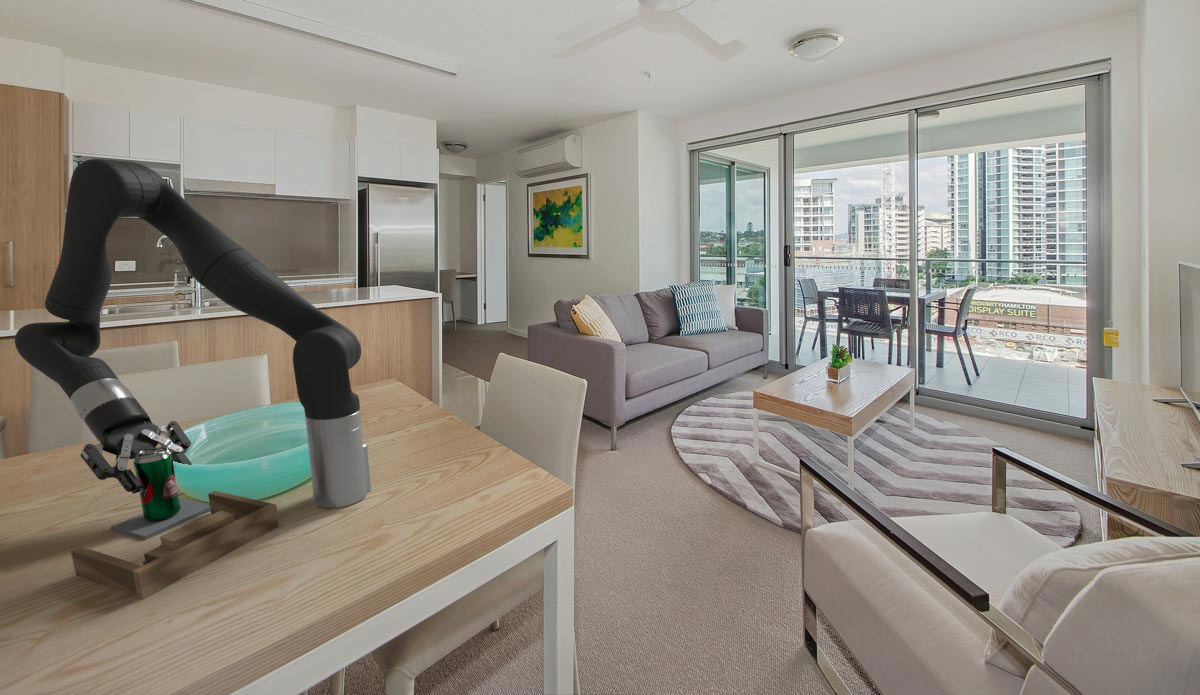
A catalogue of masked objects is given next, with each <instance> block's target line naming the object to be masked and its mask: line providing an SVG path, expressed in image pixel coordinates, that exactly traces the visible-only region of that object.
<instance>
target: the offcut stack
mask: <svg viewBox="0 0 1200 695" xmlns="http://www.w3.org/2000/svg"><path fill="white" fill-rule="evenodd" d="M234 521H236V520H235V516H234V514H231V513H228V512H225V511H222V510H221V511H219V512H216V513H214V514H210V515H207V516H205V517H203V518H200V519H198V520H196V521H193V522H191V523H188V524H186V525H184V526H181V527H179V528H177V529H174V530H172V531H169V532H167V533H165V534H163V535H160V536H159V538H160V543H161V545H159V546H157V547H154V548H153V549H150V550H149V551H147V552H145V553H143V556H144V561H143V562H142V566H144V565H146V564H148V563H150V562H152V561H154V560H156V559H158V558H160V557H162V556H164V555H167V554H169V553H171V552H173V551H175V550H177V549H179V548H181V547H183V546H185V545H187V544H189V543H191V542H193V541H195V540H197V539H199V538H201V537H203V536H205V535H208V534H210V533H212V532H214V531H216V530H218V529H220V528H222V527H224V526H226V525H228V524H230V523H232V522H234Z"/></svg>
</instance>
